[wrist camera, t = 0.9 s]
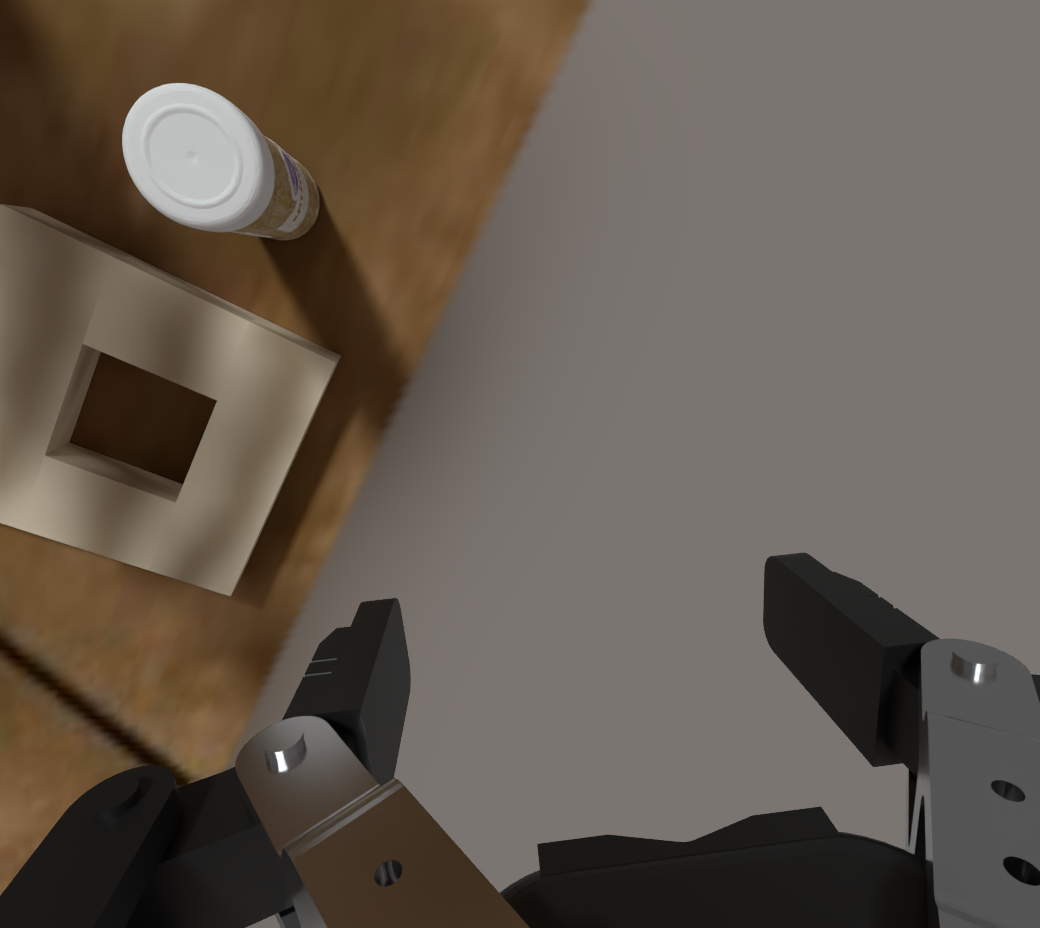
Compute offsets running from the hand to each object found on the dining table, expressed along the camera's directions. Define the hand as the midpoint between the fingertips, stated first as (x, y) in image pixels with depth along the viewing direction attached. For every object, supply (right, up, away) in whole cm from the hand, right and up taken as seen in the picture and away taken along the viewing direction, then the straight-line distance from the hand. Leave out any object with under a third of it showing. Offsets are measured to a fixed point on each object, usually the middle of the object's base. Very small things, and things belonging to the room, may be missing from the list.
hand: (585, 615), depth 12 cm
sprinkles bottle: (-15, +18, +20) cm, 31 cm away
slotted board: (-24, +6, +22) cm, 33 cm away
